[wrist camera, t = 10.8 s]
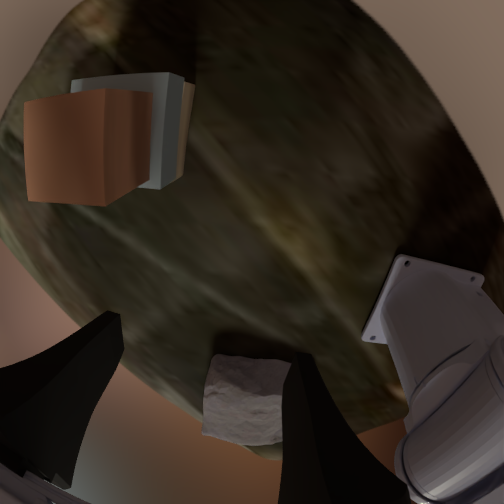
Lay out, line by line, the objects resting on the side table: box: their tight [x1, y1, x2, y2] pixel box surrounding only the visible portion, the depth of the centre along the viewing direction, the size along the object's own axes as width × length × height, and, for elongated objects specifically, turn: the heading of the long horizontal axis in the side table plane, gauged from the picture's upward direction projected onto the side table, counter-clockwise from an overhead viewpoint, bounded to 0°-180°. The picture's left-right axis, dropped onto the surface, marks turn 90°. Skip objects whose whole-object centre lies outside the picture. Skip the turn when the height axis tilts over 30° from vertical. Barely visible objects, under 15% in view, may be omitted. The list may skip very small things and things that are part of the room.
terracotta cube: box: [24, 88, 153, 206], centre depth 12 cm, size 4×4×4 cm
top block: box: [71, 72, 184, 189], centre depth 15 cm, size 6×6×2 cm
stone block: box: [202, 354, 291, 446], centre depth 27 cm, size 12×5×10 cm
